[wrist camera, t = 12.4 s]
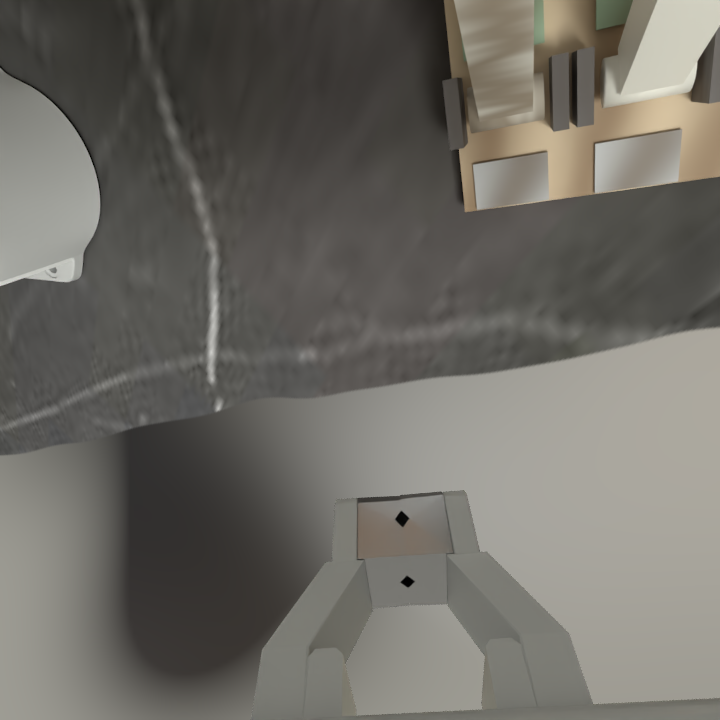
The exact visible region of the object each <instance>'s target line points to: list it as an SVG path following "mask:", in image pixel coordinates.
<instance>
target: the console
mask: <svg viewBox="0 0 720 720" xmlns="http://www.w3.org/2000/svg"><path fill="white" fill-rule="evenodd" d="M632 2H633V0H444V6H445V16H446V26H447V36H448V46H449V56H450V66H451V76H452V79H448V80H443V81H442V83H443V92H444V101H445V111H446V120H447V129H448V138H449V148H450V151H451V150H456V149H459V156H460V166H461V176H462V186H463V196H464V206H465V212H470V211H477V210H484V209H492V208H499V207H506V206H513V205H520V204H527V203H534V202H541V201H548V200H556V199H563V198H570V197H577V196H584V195H591V194H598V193H605V192H612V191H619V190H627V189H634V188H641V187H648V186H655V185H662V184H669V183H676V182H683V181H691V180H698V179H705V178H712V177H719V176H720V26H719V28H718V29H717V31H716V32H715V34H714V35H713V37H712V39H711V40H710V42H709V43H708V45H707V47H706V48H705V50H704V51H703V53H702V54H701V56H700V58H699V59H698V61H697V71H696V77H695V81H694V85H693V87H692V89H691V91H690V92H688V93H682V94H677V95H672V96H667V97H661V98H656V99H651V100H645V101H640V102H635V103H630V104H624V105H619V106H614V107H608V108H602V106H601V98H600V73H601V64H602V60H603V58H607V57H611V56H616V55H618V46H619V43H620V40H621V37H622V34H623V30H624V27H625V24H626V21H627V18H628V15H629V11H630V8H631V5H632Z"/></svg>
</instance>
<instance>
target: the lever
mask: <svg viewBox="0 0 720 720" xmlns="http://www.w3.org/2000/svg"><path fill="white" fill-rule="evenodd" d="M719 26H720V0H633V2H632V5H631V8H630V11H629V15H628V18H627V21H626V24H625V27H624V30H623V34H622V37H621V40H620V43H619V46H618V55H616V56H611V57H607V58H603V60H602V64H601V73H600V98H601V106H602V108H608V107H614V106H619V105H624V104H630V103H635V102H640V101H645V100H651V99H656V98H661V97H667V96H672V95H677V94H682V93H688V92H690V91H691V89H692V87H693V85H694V81H695V77H696V71H697V61H698V59H699V58H700V56H701V54H702V53H703V51H704V50H705V48H706V47H707V45H708V43H709V42H710V40H711V39H712V37H713V35H714V34H715V32H716V31H717V29H718V28H719Z"/></svg>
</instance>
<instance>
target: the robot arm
mask: <svg viewBox="0 0 720 720" xmlns="http://www.w3.org/2000/svg"><path fill="white" fill-rule="evenodd" d="M99 215H100V192H99V185H98V180H97V176H96V172H95V169H94V166H93V163H92V161H91V158H90V156H89V153H88V151H87V149H86V147H85V145H84V143H83V141H82V140H81V138H80V136H79V135H78V133H77V131H76V130H75V128H74V127H73V126H72V124H71V123H70V122H69V120H68V119H67V118H66V117H65V115H64V114H63V113H62V112H61V111H60V110H59V109H58V108H57V107H56V106H55V105H54V104H53V103H52V102H51V101H50V100H49V99H48V98H46V97H45V96H44V95H43V94H41V93H40V92H39V91H37V90H35V89H34V88H32V87H31V86H29V85H27V84H25V83H23V82H21V81H19V80H17V79H15V78H13V77H11V76H9V75H8V74H6V73H5V72H4V71H3V70H2V69H1V68H0V286H2V285H5V284H8V283H11V282H13V281H16V280H19V279H22V278H30V279H39V280H49V281H58V282H70V281H74V280H77V279H79V278H80V276H81V273H82V268H83V253H84V251H85V248H86V246H87V245H88V243H89V242H90V240H91V239H92V237H93V235H94V233H95V231H96V228H97V225H98V221H99ZM332 551H333V552H332V562H325V564H324V565H323V567H322V568H321V569H320V571H319V572H318V573H317V575H316V576H315V578H314V579H313V580H312V582H311V583H310V584H309V586H308V587H307V589H306V590H305V591H304V593H303V594H302V595H301V597H300V598H299V600H298V601H297V603H296V604H295V605H294V607H293V608H292V610H291V611H290V612H289V614H288V615H287V616H286V618H285V619H284V620H283V622H282V623H281V624H280V626H279V627H278V629H277V630H276V631H275V633H274V634H273V635H272V637H271V638H270V640H269V641H268V642H267V644H266V645H265V646H264V648H263V649H262V655H261V661H260V667H259V673H258V680H257V686H256V692H255V699H254V705H253V711H252V718H251V720H720V698H714V699H692V700H672V701H671V700H670V701H650V702H630V703H608V704H593V702H592V699H591V696H590V693H589V690H588V687H587V685H586V682H585V679H584V676H583V673H582V670H581V667H580V664H579V661H578V658H577V655H576V653H575V650H574V647H573V644H572V641H571V638H570V635H569V633H568V632H567V631H566V630H565V629H564V628H563V627H562V626H561V625H560V624H559V623H558V622H557V621H556V620H555V619H554V618H553V617H552V616H551V615H550V614H549V613H548V612H547V611H546V610H545V609H544V608H543V607H542V606H541V605H540V604H539V603H538V602H537V601H536V600H535V599H534V598H533V597H532V596H531V595H530V594H529V593H528V592H527V591H526V590H525V589H524V588H523V587H522V586H521V585H520V584H519V583H518V582H517V581H516V580H515V579H514V578H513V577H512V576H511V575H510V574H509V573H508V572H507V571H506V570H505V569H504V568H502V566H500V564H498V562H497V561H495V560H494V558H493V557H491V556H490V555H489V554H488V553H487V552H480V550H479V545H478V541H477V537H476V532H475V528H474V524H473V519H472V515H471V511H470V506H469V503H468V498H467V494H466V492H465V491H464V490H462V491H449V492H443V493H442V492H432V493H420V494H409V495H400V496H389V497H370V498H369V497H368V498H352V499H337V500H336V503H335V510H334V530H333V550H332ZM409 602H410V603H409ZM436 604H448V607H449V608H450V610H451V611H452V612H453V614H454V615H455V616H456V618H457V619H458V620H459V622H460V623H461V624H462V626H463V627H464V629H465V630H466V631H467V633H468V634H469V635H470V637H471V638H472V639H473V641H474V642H475V643H476V645H477V646H478V647H479V649H480V650H481V652H482V653H483V654H484V656H485V662H484V675H483V689H482V702H481V703H482V709H483V710H464V711H443V712H423V713H402V714H382V715H362V716H356V706H355V702H354V699H353V694H352V690H351V686H350V682H349V677H348V673H347V670H346V666H345V664H346V662H347V660H348V658H349V656H350V654H351V652H352V650H353V648H354V646H355V644H356V642H357V640H358V639H359V637H360V635H361V633H362V631H363V629H364V627H365V625H366V623H367V621H368V619H369V617H370V615H371V613H372V609H374V608H385V607H397V606H407V605H436Z"/></svg>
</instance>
